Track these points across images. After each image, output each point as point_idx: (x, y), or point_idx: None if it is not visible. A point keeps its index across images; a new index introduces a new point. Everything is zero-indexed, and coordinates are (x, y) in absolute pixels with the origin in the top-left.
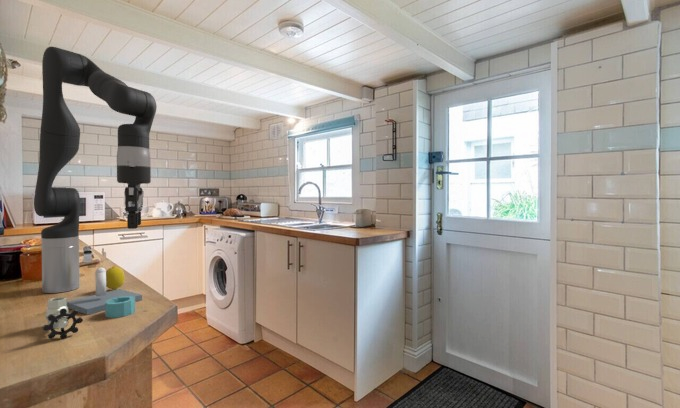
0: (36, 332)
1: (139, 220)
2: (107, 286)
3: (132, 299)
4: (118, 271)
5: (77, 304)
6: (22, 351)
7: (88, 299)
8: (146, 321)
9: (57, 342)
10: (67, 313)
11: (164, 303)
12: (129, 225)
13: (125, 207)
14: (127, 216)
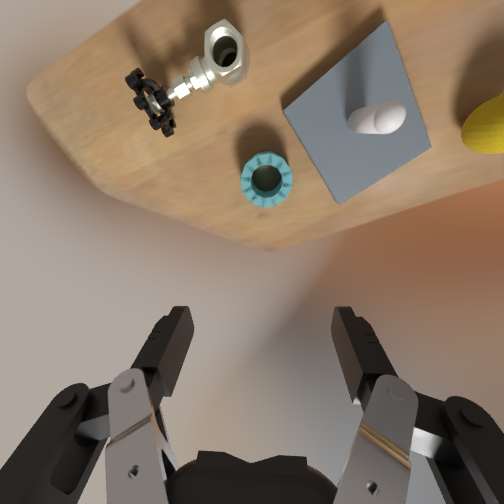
0: None
1: (336, 348)
2: (476, 108)
3: (259, 203)
4: (500, 140)
5: (336, 71)
6: (119, 52)
7: (370, 87)
8: (208, 222)
9: None
10: (147, 111)
11: (290, 240)
12: (161, 320)
13: (44, 413)
14: (148, 353)
